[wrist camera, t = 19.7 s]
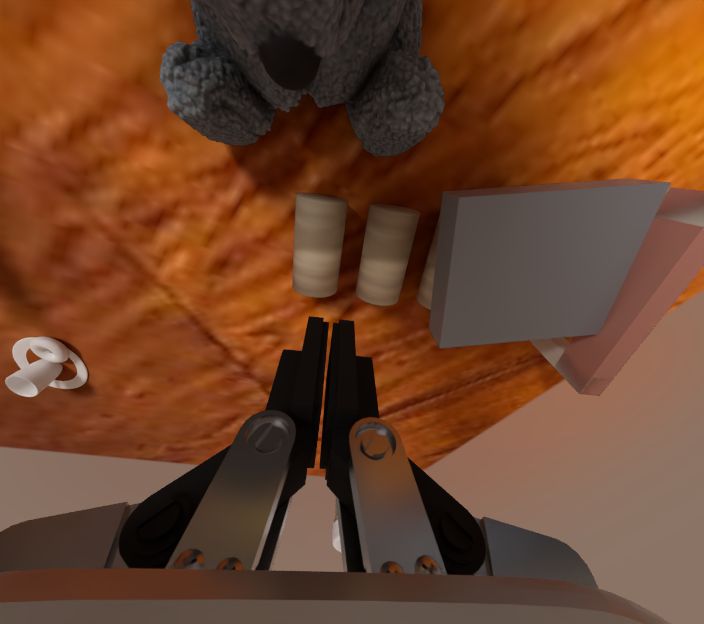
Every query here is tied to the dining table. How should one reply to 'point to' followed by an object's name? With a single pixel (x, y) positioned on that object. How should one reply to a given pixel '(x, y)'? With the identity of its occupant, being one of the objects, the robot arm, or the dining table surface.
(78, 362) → the white looped ring piece
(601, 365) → the pink u-shaped frame
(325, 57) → the koala plush
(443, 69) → the dining table surface
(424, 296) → the track
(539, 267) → the slab
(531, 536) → the robot arm
